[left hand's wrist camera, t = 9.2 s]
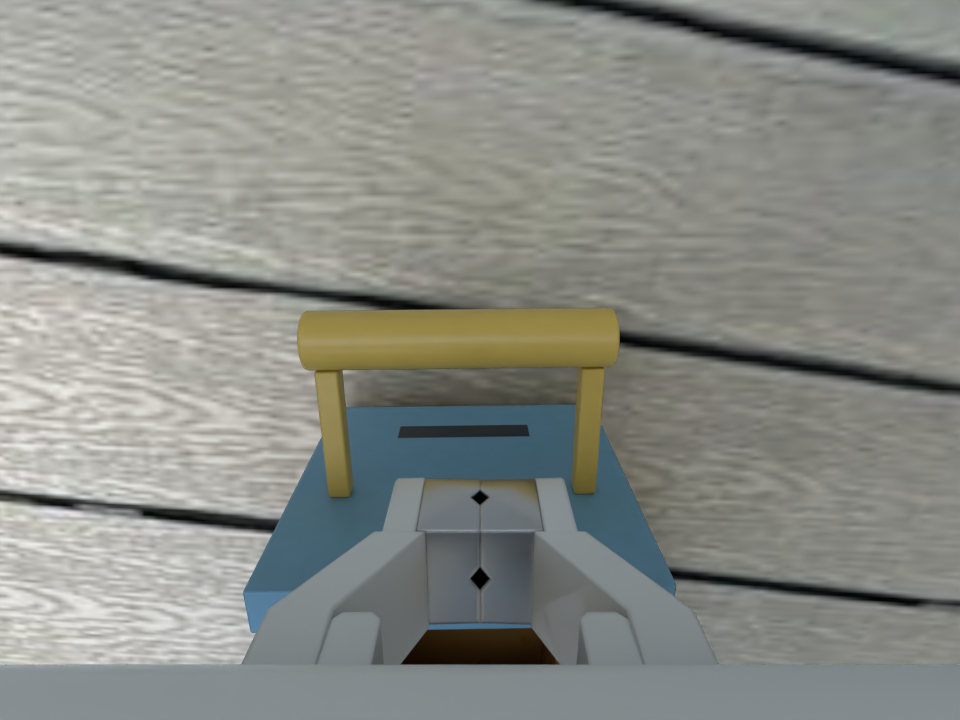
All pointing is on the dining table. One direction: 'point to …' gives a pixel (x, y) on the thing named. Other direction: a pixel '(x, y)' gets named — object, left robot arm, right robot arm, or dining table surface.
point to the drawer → (452, 450)
